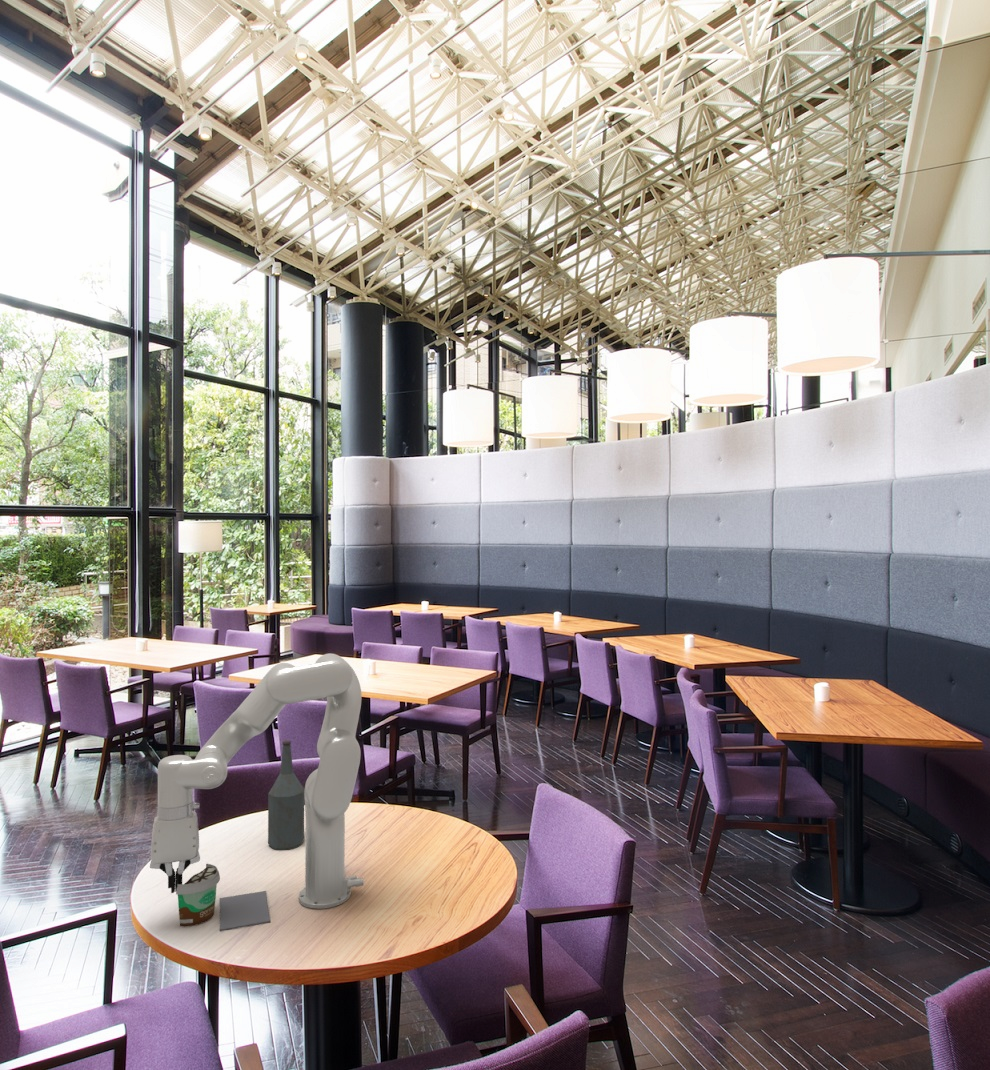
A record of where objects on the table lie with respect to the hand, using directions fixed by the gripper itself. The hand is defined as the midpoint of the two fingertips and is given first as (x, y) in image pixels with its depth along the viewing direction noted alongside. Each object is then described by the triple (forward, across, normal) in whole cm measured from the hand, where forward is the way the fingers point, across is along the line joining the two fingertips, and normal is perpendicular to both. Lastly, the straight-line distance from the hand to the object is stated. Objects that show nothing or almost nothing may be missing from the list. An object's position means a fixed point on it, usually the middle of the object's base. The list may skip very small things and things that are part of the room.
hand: (175, 890), depth 170 cm
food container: (+8, -6, 0) cm, 10 cm away
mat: (+8, -15, 0) cm, 17 cm away
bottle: (+8, -28, -38) cm, 48 cm away
